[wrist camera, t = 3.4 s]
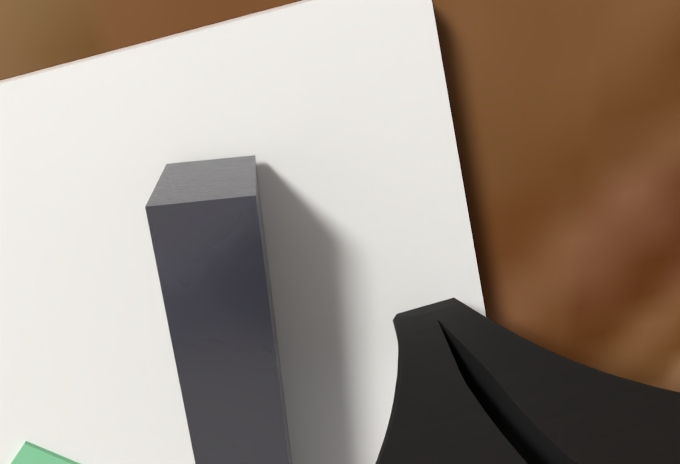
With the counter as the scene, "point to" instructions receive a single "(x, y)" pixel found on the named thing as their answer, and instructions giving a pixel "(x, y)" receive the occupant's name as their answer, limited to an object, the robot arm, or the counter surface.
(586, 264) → the counter surface
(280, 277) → the dial board
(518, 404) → the robot arm
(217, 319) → the dial pointer
